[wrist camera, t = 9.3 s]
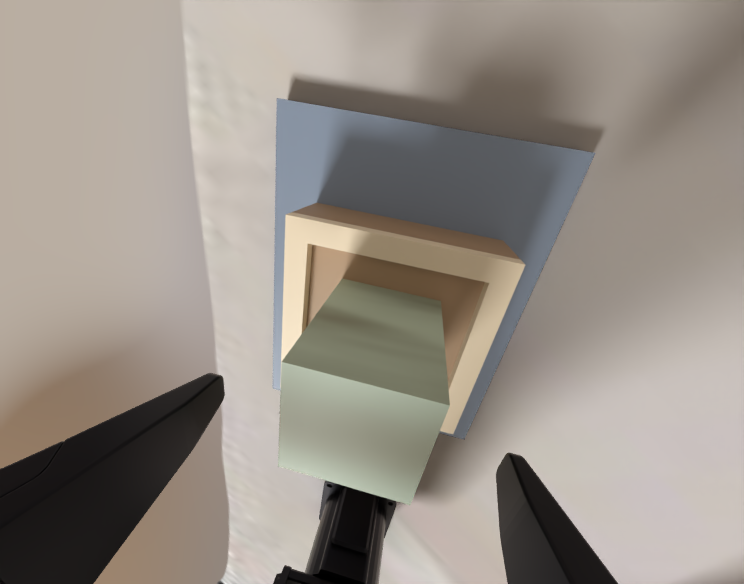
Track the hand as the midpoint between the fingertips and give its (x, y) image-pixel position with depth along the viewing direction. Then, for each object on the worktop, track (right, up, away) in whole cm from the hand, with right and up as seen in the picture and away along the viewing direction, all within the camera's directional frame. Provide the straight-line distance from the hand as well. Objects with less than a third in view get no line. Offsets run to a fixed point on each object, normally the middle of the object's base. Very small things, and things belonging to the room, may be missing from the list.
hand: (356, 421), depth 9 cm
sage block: (+1, +2, +5) cm, 5 cm away
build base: (+2, +4, +9) cm, 9 cm away
